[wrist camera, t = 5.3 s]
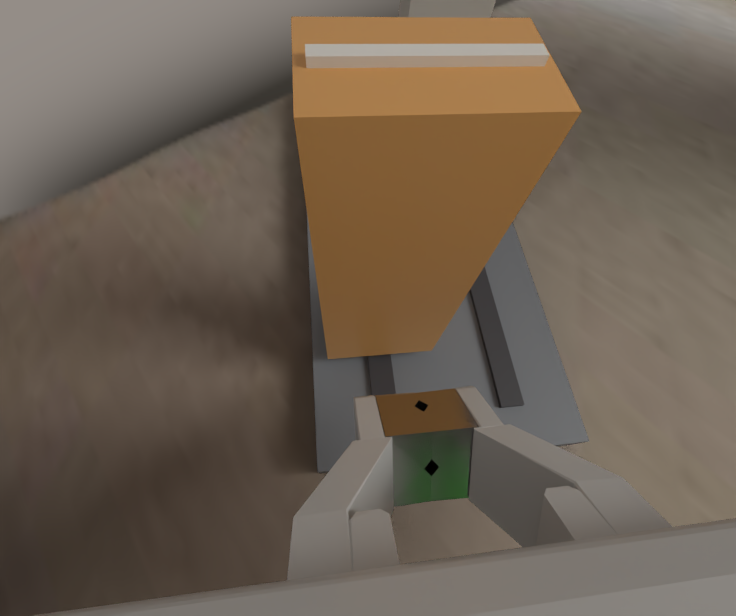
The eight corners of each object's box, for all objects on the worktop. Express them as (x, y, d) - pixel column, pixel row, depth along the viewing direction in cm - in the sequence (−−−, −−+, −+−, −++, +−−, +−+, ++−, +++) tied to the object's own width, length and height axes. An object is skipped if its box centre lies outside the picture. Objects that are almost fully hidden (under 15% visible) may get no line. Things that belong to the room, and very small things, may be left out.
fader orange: (324, 302, 15) (289, 4, 6) (421, 295, 15) (535, 6, 6) (328, 359, 14) (292, 106, 5) (431, 350, 14) (588, 100, 5)
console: (303, 95, 23) (300, 72, 22) (455, 93, 24) (461, 70, 23) (319, 472, 14) (316, 471, 12) (571, 444, 15) (593, 440, 13)
